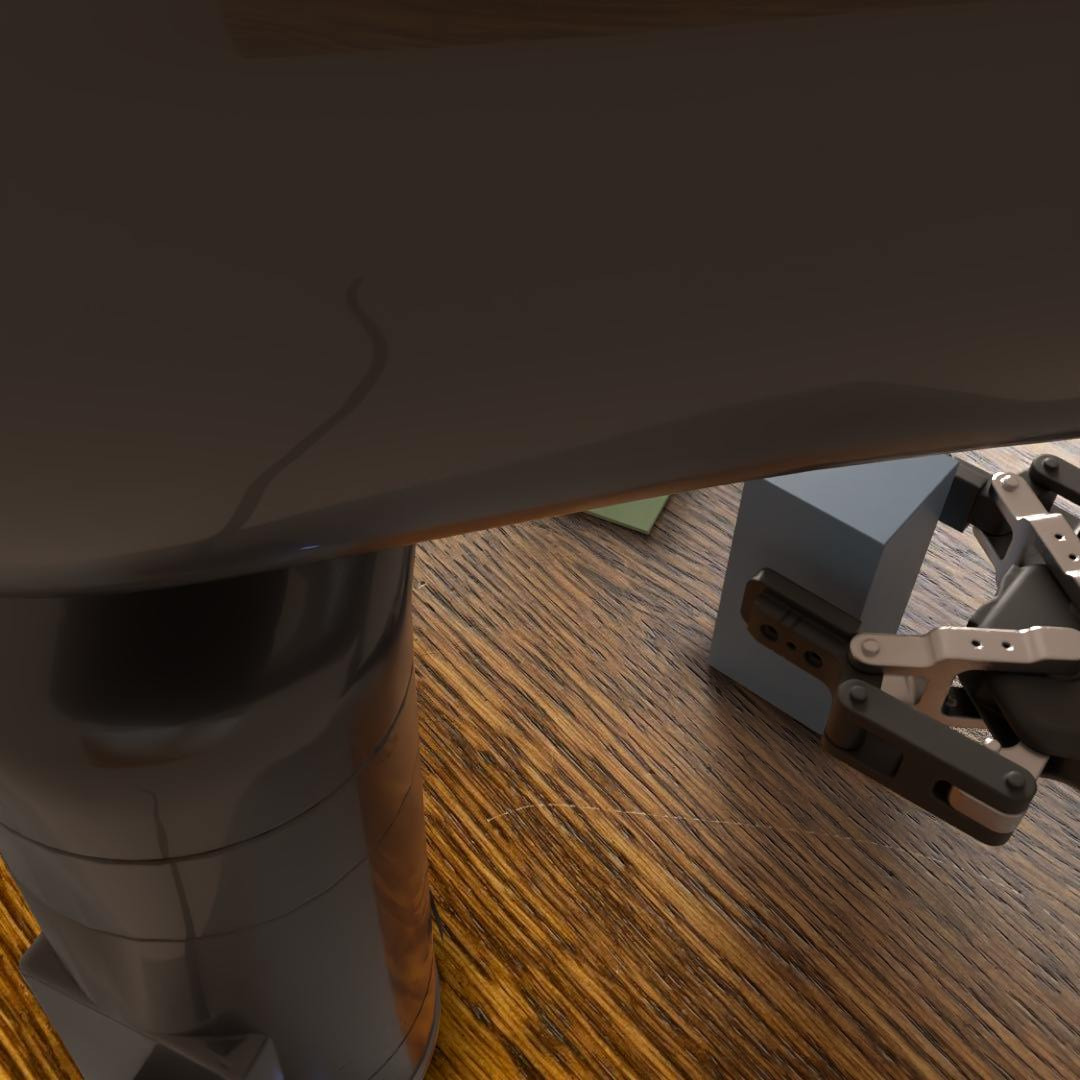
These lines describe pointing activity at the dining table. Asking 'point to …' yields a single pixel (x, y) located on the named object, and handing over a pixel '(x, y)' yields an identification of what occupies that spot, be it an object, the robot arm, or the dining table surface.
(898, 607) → the slate block
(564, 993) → the dining table surface
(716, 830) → the dining table surface
